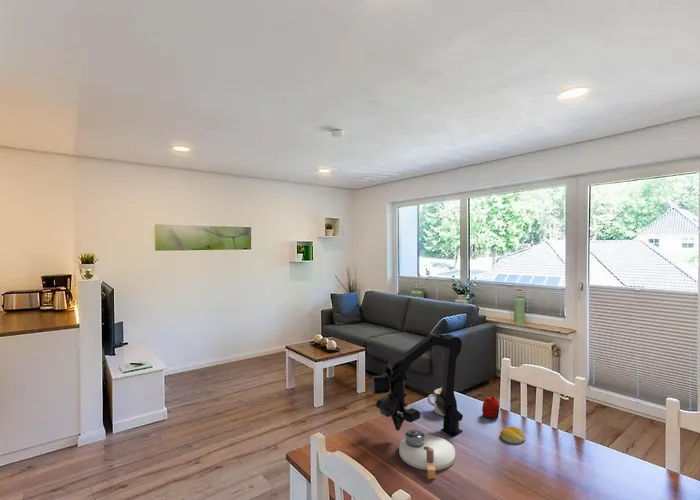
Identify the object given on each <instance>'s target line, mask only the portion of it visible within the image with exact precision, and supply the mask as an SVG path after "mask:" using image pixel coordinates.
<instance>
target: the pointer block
mask: <svg viewBox="0 0 700 500" xmlns="http://www.w3.org/2000/svg"><path fill="white" fill-rule="evenodd" d="M426 472H427V473H426V474H427V479H428V480H436V479H437V478H436V470H435V466H430V465H427V470H426Z"/></svg>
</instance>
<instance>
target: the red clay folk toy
mask: <svg viewBox="0 0 700 500" xmlns="http://www.w3.org/2000/svg"><path fill="white" fill-rule="evenodd" d="M495 390H499V386H498V384H495V386H493V391H492V396H488V397H485V398H484V401H483V403H482V409H481V411H482V417H483V418H486V419H489V420H497V419H499V415H500V405H499V401H498V400H497V397H496V396H495Z"/></svg>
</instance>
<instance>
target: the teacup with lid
mask: <svg viewBox="0 0 700 500" xmlns="http://www.w3.org/2000/svg"><path fill="white" fill-rule="evenodd" d="M441 391H442V387H440V388H436V389H435V390H434V391H433V393H432V394H428V396H427V401H428V404H429V405H431V406H432V407H433V406H434V412H435V413H436V414H437V415H440V416H443V417H444V414H443V413H441V411H440V410H439V409H438V407H437V404H436V403H435V402H436V394H440V393H441ZM431 397H433V398H434V402H431V400H430V398H431Z"/></svg>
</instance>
